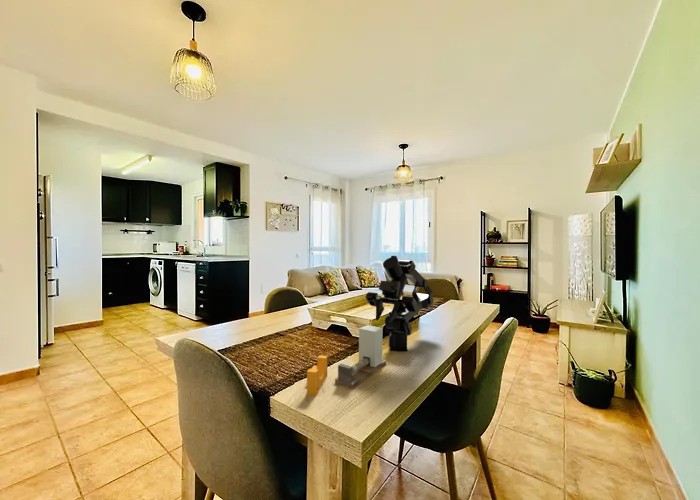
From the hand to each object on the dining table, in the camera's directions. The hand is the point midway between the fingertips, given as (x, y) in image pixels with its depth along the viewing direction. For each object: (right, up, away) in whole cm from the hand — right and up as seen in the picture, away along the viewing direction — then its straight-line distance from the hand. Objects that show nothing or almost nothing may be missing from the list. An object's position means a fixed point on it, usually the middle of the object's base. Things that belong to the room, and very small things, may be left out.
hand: (382, 321), depth 106 cm
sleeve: (-5, -12, -7) cm, 15 cm away
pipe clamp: (-22, -14, -19) cm, 32 cm away
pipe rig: (-8, -14, -11) cm, 19 cm away
